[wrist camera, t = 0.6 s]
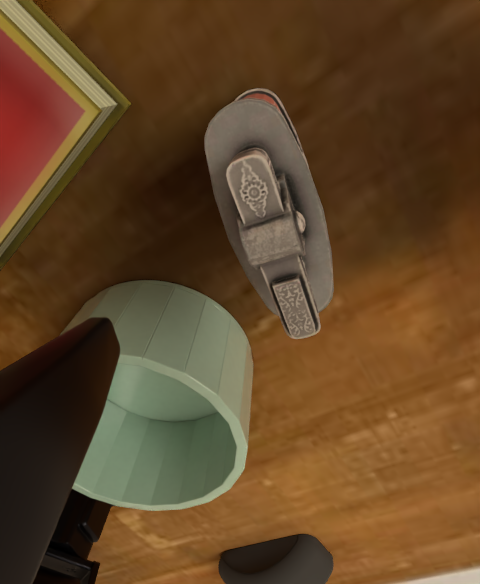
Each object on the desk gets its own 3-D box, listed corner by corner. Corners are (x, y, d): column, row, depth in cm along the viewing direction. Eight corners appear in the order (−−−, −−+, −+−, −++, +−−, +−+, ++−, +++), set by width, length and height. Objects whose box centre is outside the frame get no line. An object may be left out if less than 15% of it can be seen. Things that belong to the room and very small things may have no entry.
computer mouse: (214, 553, 40) (208, 598, 37) (310, 531, 36) (314, 579, 33) (244, 579, 42) (242, 624, 39) (337, 561, 39) (343, 609, 35)
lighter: (214, 104, 18) (158, 137, 9) (283, 75, 17) (291, 81, 8) (268, 251, 21) (264, 372, 13) (326, 233, 21) (363, 350, 12)
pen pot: (114, 427, 31) (75, 515, 25) (39, 296, 24) (-38, 370, 18) (268, 413, 28) (266, 505, 22) (228, 264, 22) (211, 336, 16)
